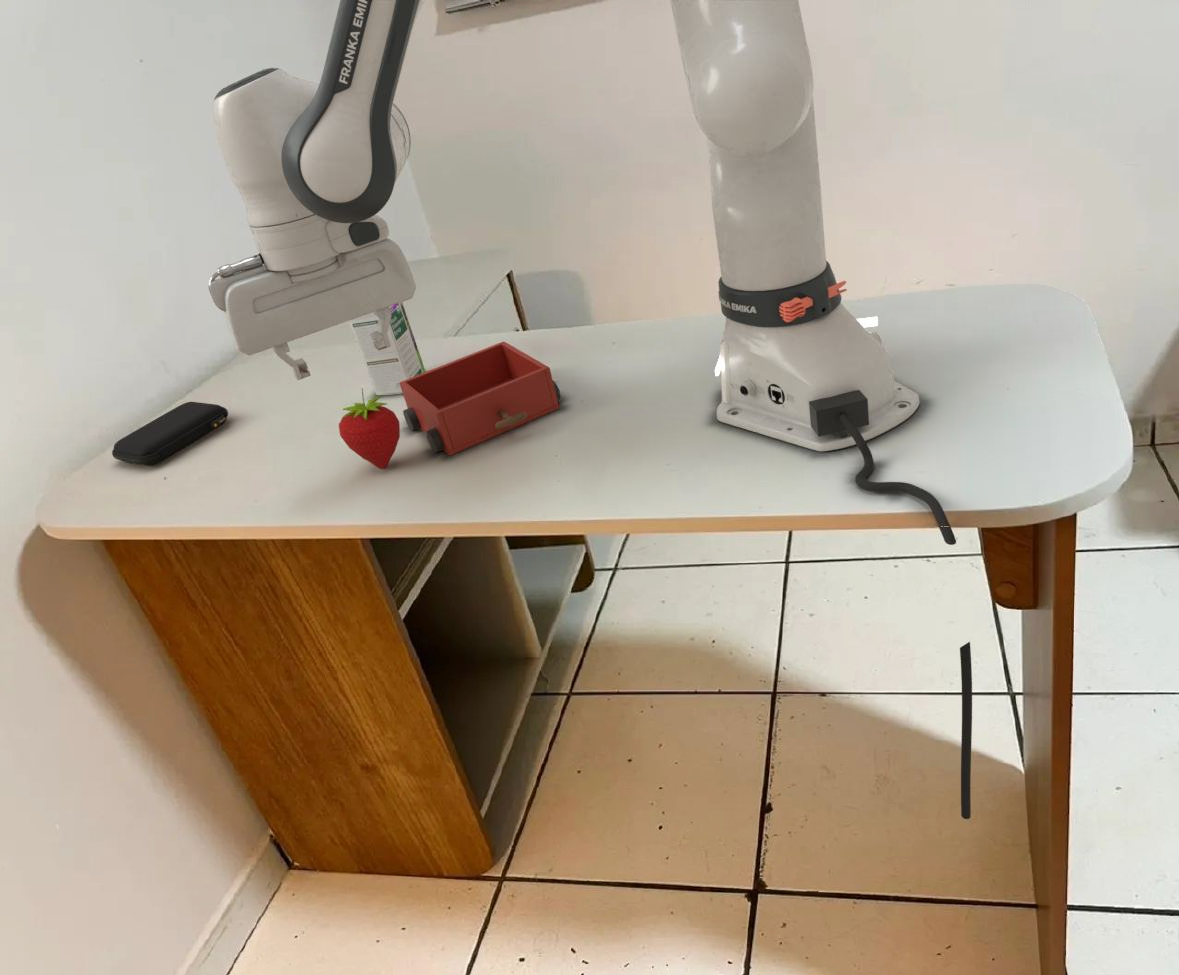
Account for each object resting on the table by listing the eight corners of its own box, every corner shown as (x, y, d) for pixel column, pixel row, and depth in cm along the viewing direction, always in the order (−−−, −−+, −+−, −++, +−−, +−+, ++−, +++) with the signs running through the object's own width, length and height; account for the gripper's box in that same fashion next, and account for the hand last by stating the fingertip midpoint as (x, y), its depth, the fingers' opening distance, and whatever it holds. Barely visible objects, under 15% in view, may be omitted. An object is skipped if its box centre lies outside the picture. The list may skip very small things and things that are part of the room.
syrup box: (413, 393, 129) (380, 293, 122) (374, 396, 131) (340, 298, 123) (427, 374, 134) (396, 277, 127) (390, 378, 135) (357, 283, 128)
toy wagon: (579, 413, 113) (569, 371, 110) (452, 469, 107) (438, 426, 104) (520, 376, 126) (510, 338, 124) (404, 424, 121) (391, 385, 118)
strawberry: (371, 453, 115) (344, 380, 110) (422, 455, 112) (397, 379, 107) (344, 479, 111) (314, 404, 106) (396, 481, 107) (369, 403, 102)
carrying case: (157, 473, 123) (243, 420, 133) (147, 453, 122) (234, 401, 132) (111, 465, 129) (197, 414, 139) (101, 445, 127) (188, 396, 137)
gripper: (206, 278, 92) (258, 404, 98) (400, 216, 98) (435, 338, 105) (196, 266, 97) (246, 387, 103) (381, 208, 103) (416, 325, 110)
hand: (343, 362), depth 105 cm, fingers open, 8 cm apart
